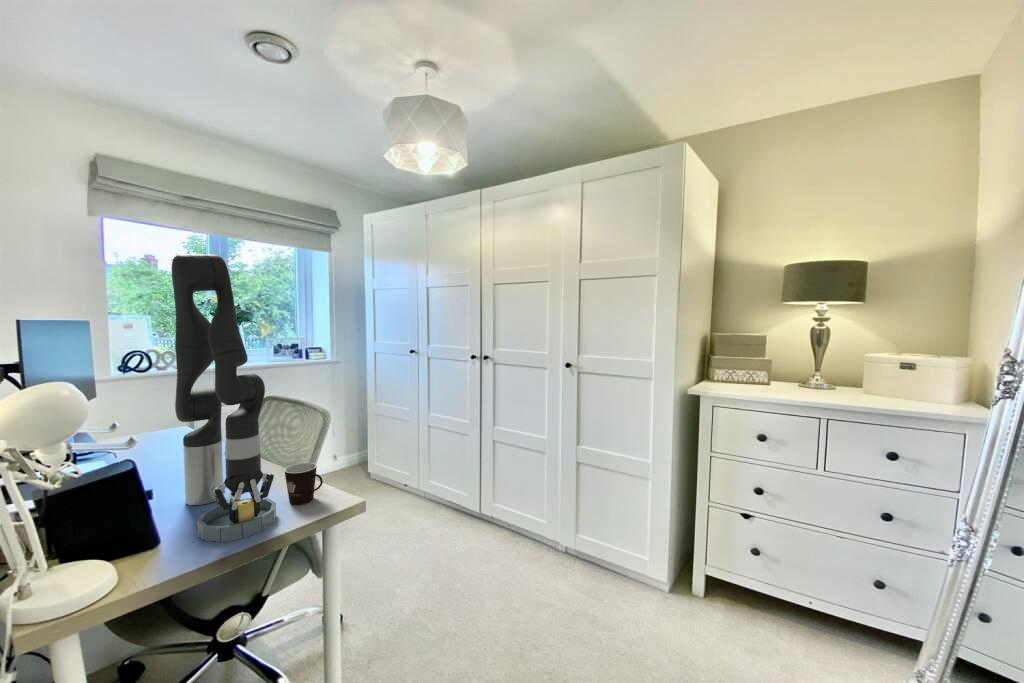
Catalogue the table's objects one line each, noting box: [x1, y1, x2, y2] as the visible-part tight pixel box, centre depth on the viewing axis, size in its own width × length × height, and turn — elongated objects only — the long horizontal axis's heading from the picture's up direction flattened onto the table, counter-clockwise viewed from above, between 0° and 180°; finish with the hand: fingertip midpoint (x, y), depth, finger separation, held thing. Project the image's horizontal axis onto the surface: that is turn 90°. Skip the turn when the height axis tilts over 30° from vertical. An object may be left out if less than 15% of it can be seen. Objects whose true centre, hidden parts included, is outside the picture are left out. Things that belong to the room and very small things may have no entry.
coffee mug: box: [283, 462, 324, 506], centre depth 124 cm, size 12×9×10 cm
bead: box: [237, 500, 254, 524], centre depth 107 cm, size 4×4×5 cm
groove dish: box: [196, 497, 277, 543], centre depth 110 cm, size 17×17×4 cm
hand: (245, 518), depth 107 cm, fingers closed on bead, 4 cm apart
